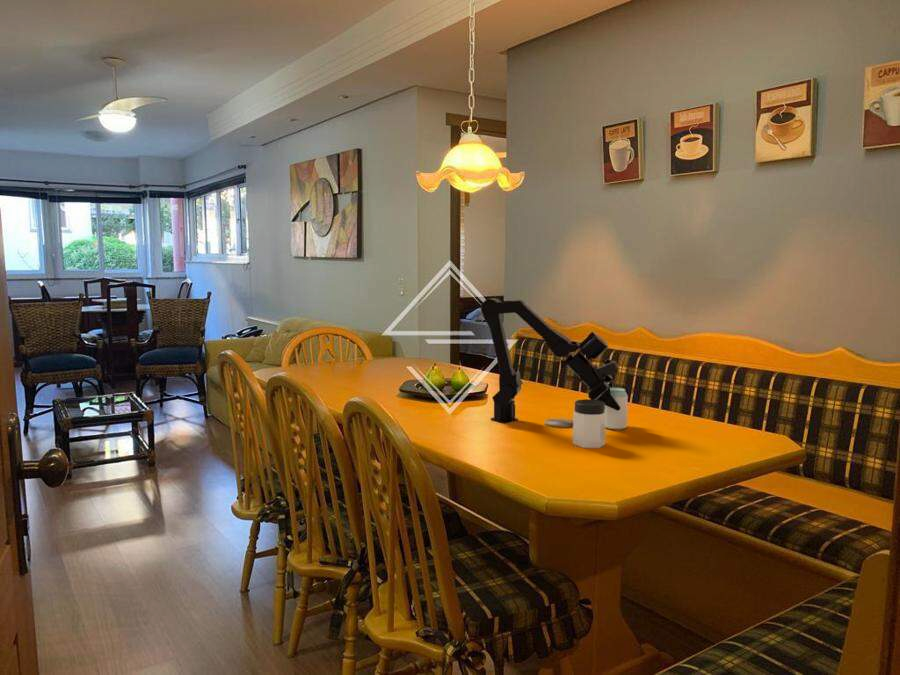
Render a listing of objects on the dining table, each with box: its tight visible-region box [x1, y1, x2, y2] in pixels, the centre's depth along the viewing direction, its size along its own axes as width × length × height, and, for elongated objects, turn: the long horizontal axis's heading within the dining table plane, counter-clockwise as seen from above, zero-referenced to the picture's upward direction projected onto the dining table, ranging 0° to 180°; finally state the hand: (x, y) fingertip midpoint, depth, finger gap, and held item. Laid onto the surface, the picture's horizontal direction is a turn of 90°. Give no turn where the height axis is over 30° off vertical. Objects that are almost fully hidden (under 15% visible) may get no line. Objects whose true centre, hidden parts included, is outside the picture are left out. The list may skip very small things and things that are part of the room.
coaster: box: [544, 417, 573, 429], centre depth 212 cm, size 10×10×1 cm
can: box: [605, 387, 629, 431], centre depth 206 cm, size 7×7×12 cm
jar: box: [572, 398, 606, 449], centre depth 188 cm, size 9×8×12 cm
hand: (620, 406), depth 206 cm, fingers closed on can, 7 cm apart
